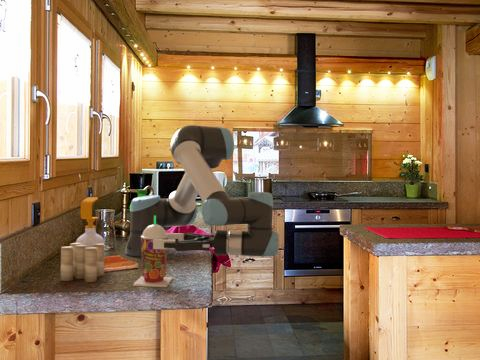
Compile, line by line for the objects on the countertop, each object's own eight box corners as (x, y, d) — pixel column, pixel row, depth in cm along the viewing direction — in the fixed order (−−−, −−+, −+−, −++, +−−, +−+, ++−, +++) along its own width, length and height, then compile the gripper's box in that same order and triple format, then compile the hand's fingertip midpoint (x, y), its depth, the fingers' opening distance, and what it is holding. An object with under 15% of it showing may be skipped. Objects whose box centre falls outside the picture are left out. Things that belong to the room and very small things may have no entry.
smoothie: (141, 284, 140) (142, 217, 139) (138, 277, 148) (140, 214, 147) (169, 283, 142) (170, 217, 142) (165, 276, 150) (166, 214, 150)
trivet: (141, 277, 150) (141, 276, 150) (172, 279, 150) (172, 277, 150) (133, 285, 140) (133, 283, 140) (166, 287, 140) (166, 285, 140)
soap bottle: (108, 268, 163) (110, 197, 162) (93, 273, 154) (95, 198, 154) (86, 265, 165) (87, 196, 165) (70, 271, 157) (71, 197, 156)
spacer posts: (72, 273, 154) (72, 242, 154) (105, 274, 154) (106, 243, 154) (58, 280, 144) (59, 248, 143) (94, 282, 143) (94, 249, 143)
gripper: (223, 263, 131) (148, 260, 132) (230, 248, 156) (166, 246, 157) (224, 236, 130) (148, 234, 131) (230, 225, 155) (167, 223, 156)
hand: (158, 240), depth 144 cm, fingers open, 13 cm apart
